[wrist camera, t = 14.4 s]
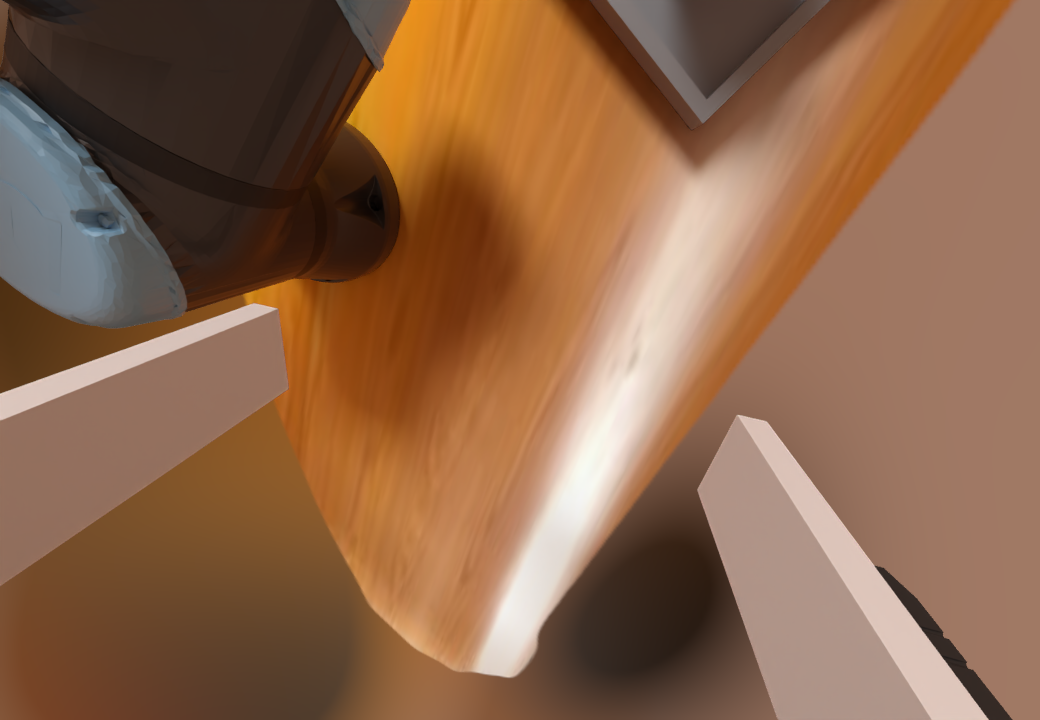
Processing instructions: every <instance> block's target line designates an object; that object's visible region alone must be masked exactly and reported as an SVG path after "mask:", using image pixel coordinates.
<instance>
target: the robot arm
mask: <svg viewBox="0 0 1040 720" xmlns="http://www.w3.org/2000/svg"><path fill="white" fill-rule="evenodd" d="M3 1H4V2H6V3H8V4H9V9H8V22H7V29H6V38H5V43H4V50H3V59H2V64H1V66H0V276H1V277H2V278H3V279H5V280H6V281H7V282H8V283H9V284H10V285H12V286H13V287H14V288H16V289H17V290H18V291H20V292H21V293H22V294H24V295H25V296H27V297H28V298H29V299H31V300H32V301H34V302H36V303H38V304H39V305H41V306H42V307H44V308H46V309H48V310H50V311H52V312H53V313H55V314H58V315H60V316H62V317H65V318H67V319H69V320H72V321H75V322H78V323H82V324H87V325H92V326H100V327H105V328H124V327H129V326H134V325H139V324H144V323H149V322H154V321H159V320H164V319H174V318H177V317H180V316H182V315H183V314H184V313H185V312H188V311H191V310H194V309H197V308H200V307H204V306H207V305H210V304H213V303H216V302H220V301H223V300H226V299H229V298H233V297H236V296H239V295H242V294H245V293H249V292H252V291H255V290H258V289H261V288H265V287H268V286H271V285H274V284H277V283H281V282H284V281H287V280H290V279H293V278H296V279H312V280H316V281H321V282H329V283H336V282H345V281H350V280H353V279H356V278H358V277H361V276H364V275H366V274H368V273H370V272H372V271H374V270H375V269H376V268H378V267H379V266H380V265H381V264H382V263H383V262H384V261H385V260H386V258H387V257H388V255H389V254H390V252H391V250H392V248H393V246H394V244H395V241H396V238H397V234H398V229H399V218H400V215H399V202H398V196H397V191H396V187H395V184H394V181H393V178H392V176H391V173H390V171H389V169H388V167H387V165H386V163H385V161H384V160H383V158H382V156H381V155H380V153H379V152H378V151H377V149H376V148H375V147H374V146H373V144H372V143H371V142H370V141H369V140H368V139H367V138H366V137H365V136H364V135H363V134H362V133H361V132H360V131H358V130H357V129H356V128H354V127H353V126H352V125H350V124H349V123H347V122H346V121H347V119H348V118H349V116H350V114H351V113H352V111H353V109H354V108H355V106H356V104H357V103H358V101H359V99H360V98H361V96H362V94H363V93H364V91H365V89H366V88H367V86H368V84H369V83H370V81H371V79H372V78H373V76H374V74H375V73H376V71H377V70H378V71H379V72H380V71H381V69H382V68H383V66H384V61H383V58H384V55H385V53H386V51H387V49H388V47H389V45H390V43H391V41H392V39H393V37H394V35H395V33H396V30H397V28H398V26H399V24H400V22H401V21H402V19H403V17H404V15H405V13H406V11H407V9H408V7H409V4H410V1H411V0H3ZM288 389H289V385H288V378H287V370H286V363H285V355H284V348H283V340H282V333H281V325H280V318H279V310H278V309H277V308H273V307H269V306H264V305H260V304H256V303H253V304H250V305H248V306H245V307H242V308H239V309H236V310H234V311H231V312H228V313H225V314H223V315H220V316H217V317H214V318H211V319H208V320H206V321H203V322H200V323H197V324H194V325H192V326H189V327H186V328H184V329H181V330H178V331H175V332H172V333H170V334H166V335H164V336H161V337H158V338H155V339H153V340H150V341H147V342H144V343H142V344H138V345H136V346H133V347H130V348H127V349H124V350H122V351H119V352H116V353H113V354H110V355H108V356H105V357H102V358H99V359H96V360H94V361H91V362H88V363H85V364H82V365H80V366H77V367H74V368H71V369H68V370H65V371H63V372H60V373H57V374H54V375H52V376H49V377H46V378H43V379H40V380H37V381H35V382H32V383H29V384H26V385H24V386H21V387H18V388H15V389H12V390H10V391H7V392H4V393H1V394H0V586H1V585H2V584H4V583H5V582H7V581H8V580H10V579H11V578H13V577H14V576H15V575H17V574H18V573H20V572H21V571H23V570H24V569H25V568H27V567H29V566H30V565H31V564H33V563H34V562H36V561H37V560H39V559H40V558H42V557H43V556H45V555H46V554H48V553H49V552H51V551H52V550H53V549H55V548H56V547H58V546H59V545H61V544H62V543H64V542H65V541H67V540H68V539H70V538H71V537H72V536H74V535H75V534H77V533H78V532H80V531H81V530H83V529H84V528H86V527H87V526H89V525H90V524H92V523H93V522H95V521H96V520H97V519H98V518H100V517H102V516H103V515H105V514H106V513H108V512H109V511H110V510H112V509H113V508H115V507H116V506H118V505H119V504H121V503H122V502H124V501H125V500H127V499H128V498H130V497H131V496H133V495H134V494H136V493H137V492H138V491H140V490H141V489H143V488H144V487H146V486H147V485H149V484H150V483H152V482H153V481H155V480H156V479H157V478H159V477H160V476H162V475H163V474H165V473H166V472H168V471H169V470H171V469H172V468H174V467H175V466H176V465H178V464H179V463H181V462H182V461H184V460H185V459H187V458H188V457H190V456H191V455H193V454H194V453H196V452H197V451H198V450H200V449H201V448H203V447H204V446H206V445H207V444H209V443H210V442H212V441H213V440H215V439H216V438H218V437H219V436H220V435H222V434H223V433H225V432H226V431H228V430H229V429H230V428H232V427H234V426H235V425H237V424H238V423H239V422H241V421H242V420H244V419H245V418H247V417H248V416H250V415H251V414H252V413H254V412H255V411H257V410H259V409H260V408H261V407H263V406H264V405H266V404H267V403H269V402H270V401H272V400H273V399H275V398H276V397H278V396H279V395H281V394H282V393H283V392H285V391H286V390H288ZM697 491H698V493H699V496H700V499H701V502H702V505H703V508H704V510H705V513H706V516H707V519H708V522H709V525H710V528H711V530H712V533H713V536H714V539H715V542H716V545H717V548H718V550H719V553H720V556H721V559H722V562H723V565H724V567H725V570H726V573H727V576H728V579H729V581H730V585H731V587H732V590H733V593H734V596H735V599H736V602H737V605H738V607H739V610H740V613H741V616H742V619H743V622H744V624H745V627H746V630H747V633H748V636H749V639H750V642H751V644H752V647H753V650H754V653H755V656H756V659H757V661H758V664H759V667H760V670H761V673H762V675H763V678H764V681H765V684H766V687H767V690H768V693H769V696H770V699H771V701H772V704H773V707H774V710H775V713H776V716H777V718H778V720H1012V719H1011V718H1010V716H1009V715H1008V714H1007V712H1006V711H1005V710H1004V709H1003V707H1002V706H1001V705H1000V703H999V702H998V701H997V700H996V698H995V697H994V696H993V695H992V693H991V692H990V691H989V689H988V688H987V687H986V686H985V684H984V683H983V682H982V681H981V679H980V678H979V677H978V676H977V674H976V673H975V672H974V671H973V670H971V669H968V668H967V666H966V663H967V662H966V660H965V659H964V658H963V656H962V655H961V654H960V653H959V651H958V650H957V649H956V648H955V646H954V645H953V644H952V643H951V641H950V640H949V639H946V638H944V637H943V631H942V630H941V629H940V628H939V626H938V625H937V624H936V622H935V621H934V620H933V618H932V617H931V616H930V615H929V613H928V612H927V611H926V610H925V608H924V607H923V606H922V604H921V603H920V602H919V601H918V599H917V598H915V596H914V595H912V594H911V593H910V592H909V591H908V590H907V589H906V588H905V587H904V586H903V585H901V584H900V583H899V582H898V581H897V580H896V579H895V578H894V577H893V576H892V575H891V574H890V573H888V572H887V571H886V570H885V569H884V568H881V567H877V566H874V565H873V564H872V562H871V561H870V560H869V558H868V557H867V556H866V554H865V553H864V552H863V550H862V549H861V547H860V546H859V545H858V544H857V542H856V541H855V539H854V538H853V537H852V535H851V534H850V533H849V531H848V530H847V529H846V527H845V526H844V525H843V523H842V522H841V521H840V519H839V518H838V517H837V515H836V514H835V513H834V511H833V510H832V508H831V507H830V506H829V504H828V503H827V502H826V500H825V499H824V498H823V496H822V495H821V494H820V492H819V491H818V490H817V488H816V487H815V486H814V484H813V483H812V482H811V480H810V479H809V478H808V476H807V475H806V474H805V472H804V471H803V470H802V468H801V467H800V465H799V464H798V463H797V461H796V460H795V459H794V457H793V456H792V455H791V453H790V452H789V451H788V449H787V448H786V447H785V445H784V444H783V443H782V441H781V440H780V439H779V437H778V436H777V435H776V433H775V432H774V431H773V429H772V428H771V426H770V425H769V424H768V422H766V421H762V420H758V419H754V418H749V417H745V416H741V415H737V416H736V418H735V420H734V422H733V423H732V425H731V427H730V429H729V431H728V433H727V435H726V437H725V439H724V441H723V443H722V444H721V446H720V448H719V450H718V452H717V454H716V456H715V458H714V459H713V461H712V463H711V465H710V467H709V469H708V471H707V473H706V474H705V476H704V478H703V480H702V482H701V484H700V486H699V488H698V490H697Z"/></svg>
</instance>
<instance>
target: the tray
mask: <svg viewBox="0 0 1040 720" xmlns="http://www.w3.org/2000/svg"><path fill="white" fill-rule="evenodd" d="M589 1H590V2H591V3H592V5H593V6H594V7H595V8H596V10H597V11H598V12H599V14H600V15H601V16H602V17H603V19H604V20H605V21H606V22H607V24H608V25H609V26H610V28H611V29H612V30H613V31H614V33H615V34H616V35H617V36H618V38H619V39H620V40H621V42H622V43H623V44H624V45H625V47H626V48H627V49H628V50H629V52H630V53H631V54H632V56H633V57H634V58H635V59H636V61H637V62H638V63H639V64H640V66H641V67H642V68H643V70H644V71H645V72H646V73H647V75H648V76H649V77H650V78H651V80H652V81H653V82H654V84H655V85H656V86H657V87H658V89H659V90H660V91H661V92H662V94H663V95H664V96H665V98H666V99H667V100H668V101H669V103H670V104H671V105H672V107H673V108H674V109H675V110H676V112H677V113H678V114H679V115H680V117H681V118H682V119H683V121H684V122H685V123H686V124H687V126H688V127H689V128H690V129H691V130H693V129H695V128H696V127H698V126H700V125H702V124H703V123H704V122H705V121H706V120H707V119H708V118H709V117H710V116H711V115H712V114H713V113H715V112H716V111H717V110H718V109H719V108H720V107H721V106H722V105H723V104H724V103H725V102H726V101H727V100H728V99H729V98H730V97H731V96H732V95H733V94H734V93H735V92H736V91H737V90H738V89H739V88H740V87H741V86H742V85H743V84H744V83H745V82H746V81H747V80H749V79H750V78H751V77H752V76H753V75H754V74H755V73H756V72H757V71H758V70H759V69H760V68H761V67H762V66H763V65H764V64H765V63H766V62H767V61H768V60H769V59H770V58H771V57H772V56H773V55H774V54H775V53H776V52H777V51H778V50H779V49H780V48H781V47H783V46H784V45H785V44H786V43H787V42H788V41H789V40H790V39H791V38H792V37H793V36H794V35H795V34H796V33H797V32H798V31H799V30H800V29H801V28H802V27H803V26H804V25H805V24H806V23H807V22H808V21H809V20H810V19H811V18H812V17H813V16H814V15H816V14H817V13H818V12H819V11H820V10H821V9H822V8H823V7H824V6H825V5H826V4H827V3H828V2H829V1H830V0H589Z"/></svg>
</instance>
